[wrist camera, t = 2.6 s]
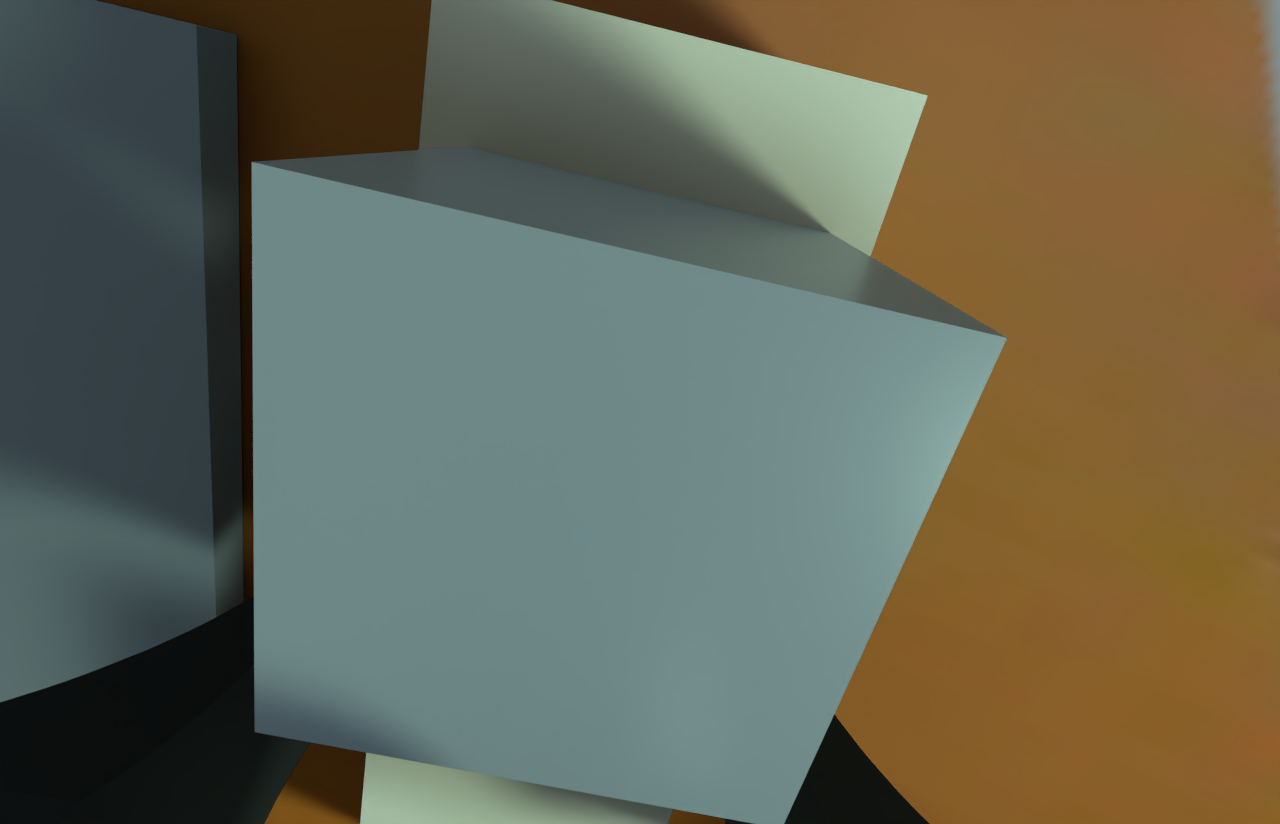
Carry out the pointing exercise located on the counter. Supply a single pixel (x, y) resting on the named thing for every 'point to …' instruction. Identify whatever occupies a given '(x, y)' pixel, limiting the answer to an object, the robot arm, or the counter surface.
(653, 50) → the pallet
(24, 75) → the dock
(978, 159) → the counter surface
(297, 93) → the counter surface
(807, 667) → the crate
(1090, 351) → the counter surface
